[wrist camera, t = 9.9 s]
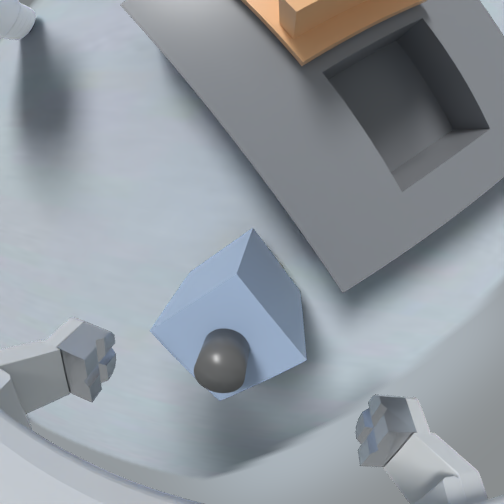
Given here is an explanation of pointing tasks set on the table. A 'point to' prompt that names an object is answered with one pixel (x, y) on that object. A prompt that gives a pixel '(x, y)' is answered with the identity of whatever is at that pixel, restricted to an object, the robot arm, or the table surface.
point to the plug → (235, 319)
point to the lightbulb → (15, 19)
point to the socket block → (351, 118)
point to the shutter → (322, 21)
